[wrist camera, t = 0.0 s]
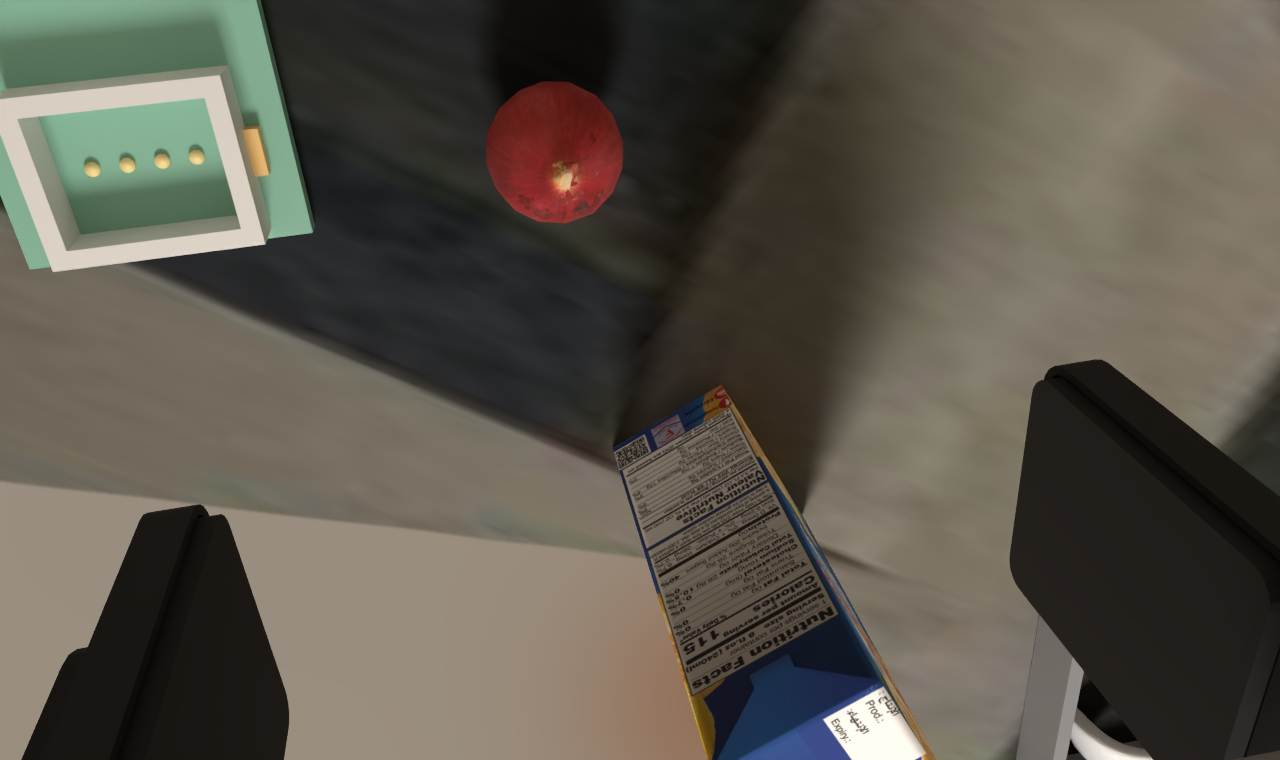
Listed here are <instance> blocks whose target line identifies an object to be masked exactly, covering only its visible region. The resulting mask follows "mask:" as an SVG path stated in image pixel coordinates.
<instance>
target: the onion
mask: <svg viewBox="0 0 1280 760" xmlns="http://www.w3.org/2000/svg"><path fill="white" fill-rule="evenodd" d="M486 164H487V166H488V169H489V171H490V174H491V177H492V179H493V182H494V184H495V187H496V188H497V190H498V191H499V193H500V194H501V195H502V196H503V197H504V198H505V199H506V201H507V202H508V203H509V204H510V205H511V206H512V208H513V209H514V210H516V211H518V212H520V213H522V214H524V215H526V216H528V217H530V218H532V219H534V220H536V221H539V222H556V223H568V222H571V221H574V220H576V219H579V218H582V217H585V216H587V215H590V214H593V213H594V212H595V211H596V210H597V209H598V208H599V207H600V205H601V204H602V203H603V202H604V201H605V200H606V199H607V198H608V197H609V196H610V195H611V194H612V193H613V191H614V188H615V186H616V183H617V180H618V178H619V175H620V173H621V171H622V168H623V141H622V138H621V136H620V133H619V130H618V128H617V125H616V123H615V120H614V117H613V115H612V113H611V112H610V111H609V110H608V109H607V108H606V106H605V105H604V104H603V103H602V102H601V101H600V99H599V98H598V97H597V96H596V95H595V94H592V93H590V92H588V91H586V90H584V89H582V88H580V87H578V86H576V85H574V84H572V83H570V82H551V81H543V82H540V83H538V84H535V85H532V86H529V87H527V88H524V89H521V90H519V91H518V92H517V93H516V94H515V95H514V96H513V97H511V98H510V99H509V100H508V101H507V102H506V103H505V104H504V105H502V106H501V107H500V109H499V110H498V112H497V114H496V116H495V118H494V120H493V122H492V125H491V127H490V129H489V131H488V133H487V135H486Z"/></svg>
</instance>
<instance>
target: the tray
mask: <svg viewBox="0 0 1280 760" xmlns="http://www.w3.org/2000/svg"><path fill="white" fill-rule="evenodd" d="M1083 673H1084V671H1083V670H1082V668H1081V667H1080V666H1079V664H1078V663H1077V662H1076V661H1075V659H1074V658H1073V657H1072V656H1071V654H1070V653H1069V652H1068V650H1067V649H1066V648H1065V647H1064V645H1063V644H1062V643H1061V641H1060V640H1059V639H1058V638H1057V636H1056V635H1055V634H1054V633H1053V631H1052V630H1051V629H1050V627H1049V626H1048V625H1047V624H1046V622H1045V621H1044V620H1043V619H1042V617H1041V616H1040V615H1039V620H1038V626H1037V633H1036V639H1035V645H1034V651H1033V657H1032V663H1031V669H1030V675H1029V682H1028V688H1027V694H1026V700H1025V706H1024V712H1023V718H1022V725H1021V731H1020V737H1019V743H1018V749H1017V755H1016V760H1086V759H1085V758H1084V757H1083V756H1082V755H1081V753H1076V754H1071V755H1067V753H1068V748H1069V743H1070V738H1071V733H1072V728H1073V723H1074V718H1075V713H1076V708H1077V703H1078V698H1079V693H1080V688H1081V683H1082V678H1083ZM1123 744H1125V745H1128V746H1132V747H1136V748H1141V749H1144V747H1143V746H1142V745H1141V744H1140V742H1139V741H1138V740H1137V741H1132V742H1127V743H1123Z"/></svg>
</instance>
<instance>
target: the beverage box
mask: <svg viewBox="0 0 1280 760" xmlns="http://www.w3.org/2000/svg"><path fill="white" fill-rule="evenodd" d="M613 451H614V454H615V457H616V461H617V464H618V467H619V471H620V474H621V477H622V480H623V484H624V487H625V490H626V493H627V497H628V500H629V503H630V507H631V510H632V513H633V516H634V520H635V523H636V526H637V530H638V533H639V536H640V539H641V543H642V546H643V549H644V552H645V556H646V559H647V562H648V566H649V569H650V572H651V575H652V579H653V582H654V585H655V588H656V592H657V595H658V598H659V602H660V605H661V608H662V611H663V614H664V618H665V621H666V624H667V628H668V631H669V634H670V638H671V641H672V644H673V647H674V651H675V654H676V657H677V661H678V664H679V667H680V670H681V674H682V677H683V680H684V683H685V687H686V690H687V693H688V697H689V700H690V703H691V706H692V710H693V713H694V716H695V720H696V723H697V726H698V729H699V732H700V736H701V739H702V743H703V746H704V749H705V752H706V756H707V759H708V760H937V759H936V757H935V755H934V754H933V752H932V750H931V748H930V746H929V744H928V743H927V741H926V739H925V737H924V735H923V734H922V732H921V730H920V728H919V726H918V724H917V723H916V721H915V719H914V717H913V715H912V714H911V712H910V710H909V708H908V706H907V705H906V703H905V701H904V699H903V697H902V695H901V694H900V692H899V690H898V688H897V686H896V685H895V683H894V681H893V679H892V677H891V676H890V674H889V672H888V670H887V668H886V666H885V665H884V663H883V661H882V659H881V657H880V656H879V654H878V652H877V650H876V648H875V646H874V645H873V643H872V641H871V639H870V637H869V636H868V634H867V632H866V630H865V628H864V627H863V625H862V623H861V621H860V619H859V617H858V616H857V614H856V612H855V610H854V608H853V607H852V605H851V603H850V601H849V599H848V598H847V596H846V594H845V592H844V590H843V588H842V587H841V585H840V583H839V581H838V579H837V578H836V576H835V574H834V572H833V570H832V568H831V567H830V565H829V563H828V561H827V559H826V558H825V556H824V554H823V552H822V550H821V549H820V547H819V545H818V543H817V541H816V539H815V538H814V536H813V534H812V532H811V530H810V529H809V527H808V525H807V523H806V521H805V520H804V518H803V516H802V514H801V513H800V511H799V509H798V508H797V506H796V504H795V503H794V501H793V500H792V498H791V496H790V495H789V493H788V491H787V490H786V488H785V487H784V485H783V483H782V482H781V480H780V478H779V477H778V475H777V474H776V472H775V470H774V469H773V467H772V466H771V464H770V462H769V461H768V459H767V457H766V456H765V454H764V453H763V451H762V449H761V448H760V446H759V444H758V443H757V441H756V440H755V438H754V436H753V435H752V433H751V431H750V430H749V428H748V427H747V425H746V423H745V422H744V420H743V418H742V417H741V415H740V414H739V412H738V410H737V409H736V407H735V405H734V404H733V402H732V401H731V399H730V397H729V396H728V394H727V393H726V391H725V389H724V388H723V386H722V384H721V385H719V386H718V387H716V388H714V389H712V390H711V391H709V392H707V393H706V394H704V395H702V396H701V397H699V398H697V399H695V400H694V401H692V402H690V403H689V404H687V405H685V406H684V407H682V408H680V409H678V410H677V411H675V412H673V413H672V414H670V415H668V416H667V417H665V418H663V419H661V420H660V421H658V422H656V423H655V424H653V425H651V426H650V427H648V428H646V429H644V430H643V431H641V432H639V433H638V434H636V435H634V436H633V437H631V438H629V439H627V440H626V441H624V442H622V443H621V444H619V445H617V446H616V447H614V448H613Z"/></svg>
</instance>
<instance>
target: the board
mask: <svg viewBox="0 0 1280 760" xmlns="http://www.w3.org/2000/svg"><path fill="white" fill-rule="evenodd" d="M0 195H1V198H2V200H3V203H4V205H5V208H6V210H7V213H8V216H9V218H10V221H11V223H12V226H13V228H14V231H15V233H16V236H17V238H18V241H19V243H20V246H21V248H22V251H23V253H24V256H25V258H26V261H27V264H28V266H29V269H37V268H45V267H51V268H52V271H53V272H56V271H64V270H72V269H79V268H87V267H95V266H102V265H110V264H118V263H125V262H133V261H141V260H148V259H156V258H164V257H171V256H179V255H187V254H195V253H202V252H210V251H218V250H225V249H233V248H241V247H248V246H256V245H264V244H266V241H267V239H268V238H276V237H284V236H292V235H299V234H307V233H313V230H314V227H315V224H314V219H313V215H312V211H311V207H310V203H309V199H308V195H307V190H306V186H305V182H304V178H303V174H302V170H301V165H300V161H299V157H298V153H297V149H296V145H295V141H294V136H293V132H292V128H291V124H290V120H289V116H288V112H287V107H286V103H285V99H284V95H283V91H282V87H281V82H280V78H279V74H278V70H277V66H276V62H275V58H274V53H273V49H272V45H271V41H270V37H269V33H268V29H267V24H266V20H265V16H264V12H263V8H262V4H261V0H0Z"/></svg>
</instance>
